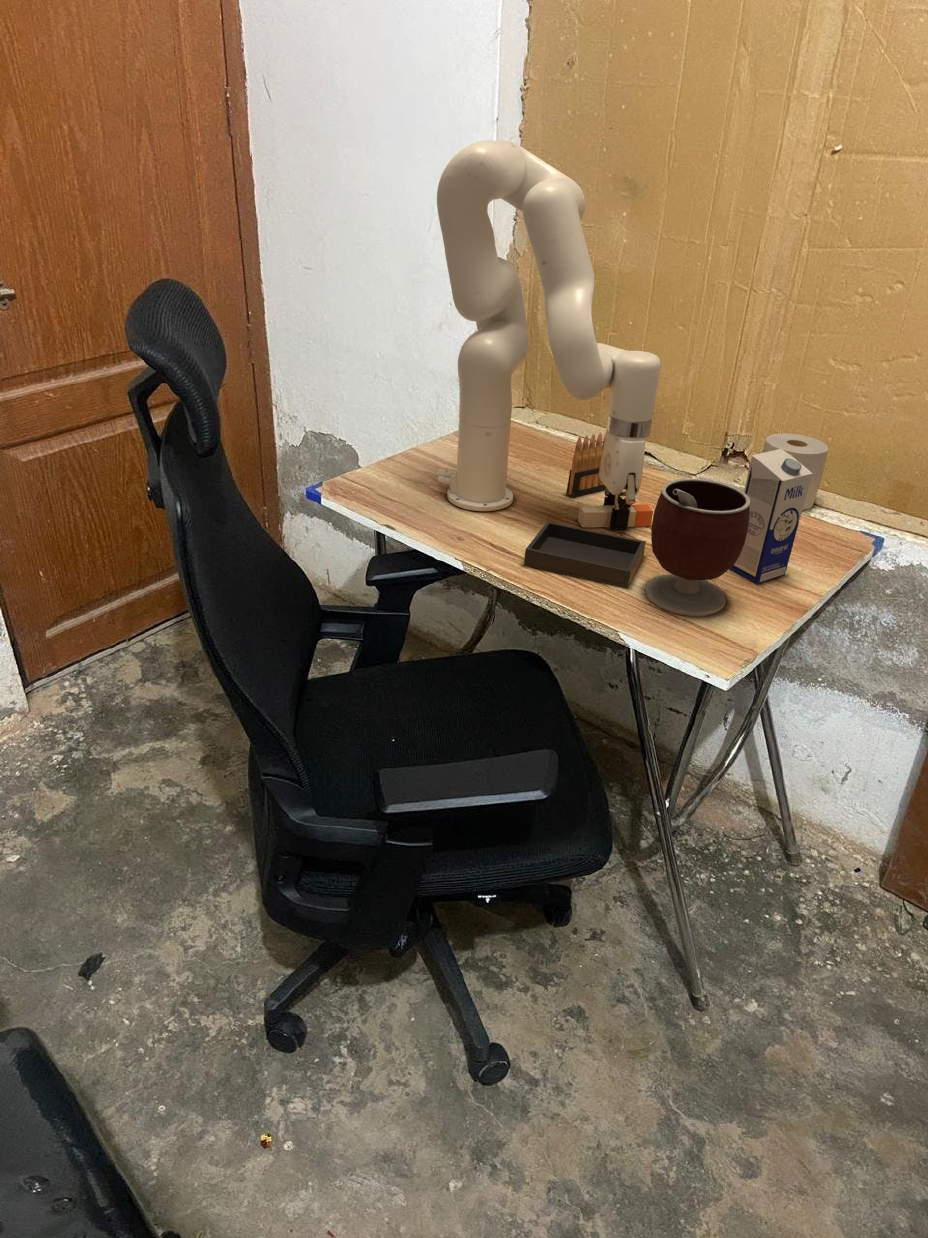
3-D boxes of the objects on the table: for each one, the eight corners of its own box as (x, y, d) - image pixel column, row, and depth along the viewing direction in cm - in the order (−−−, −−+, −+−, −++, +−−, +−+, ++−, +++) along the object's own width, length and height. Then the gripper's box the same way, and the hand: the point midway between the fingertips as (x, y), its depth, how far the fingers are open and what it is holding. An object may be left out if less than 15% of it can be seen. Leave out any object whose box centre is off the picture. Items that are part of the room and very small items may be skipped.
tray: (523, 565, 143) (525, 548, 141) (545, 536, 153) (547, 520, 151) (627, 588, 137) (630, 571, 136) (643, 556, 147) (646, 541, 146)
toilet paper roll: (783, 484, 180) (797, 430, 174) (827, 506, 171) (843, 449, 165) (739, 491, 175) (751, 436, 169) (782, 514, 166) (797, 457, 160)
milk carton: (754, 558, 149) (781, 447, 139) (785, 575, 144) (816, 460, 134) (725, 567, 145) (751, 453, 135) (756, 584, 141) (786, 468, 130)
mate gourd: (674, 567, 145) (696, 453, 134) (747, 599, 136) (776, 480, 126) (616, 595, 135) (635, 474, 125) (691, 632, 127) (718, 505, 116)
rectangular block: (582, 527, 157) (584, 511, 155) (577, 520, 159) (579, 505, 158) (650, 526, 159) (653, 510, 157) (645, 519, 161) (647, 504, 160)
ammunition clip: (572, 497, 168) (579, 438, 162) (565, 494, 170) (572, 435, 164) (612, 488, 174) (621, 430, 168) (606, 485, 175) (614, 427, 169)
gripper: (594, 410, 156) (582, 505, 165) (622, 442, 142) (607, 543, 151) (634, 411, 157) (620, 504, 166) (666, 442, 143) (648, 542, 152)
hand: (614, 521), depth 159 cm, fingers open, 4 cm apart
